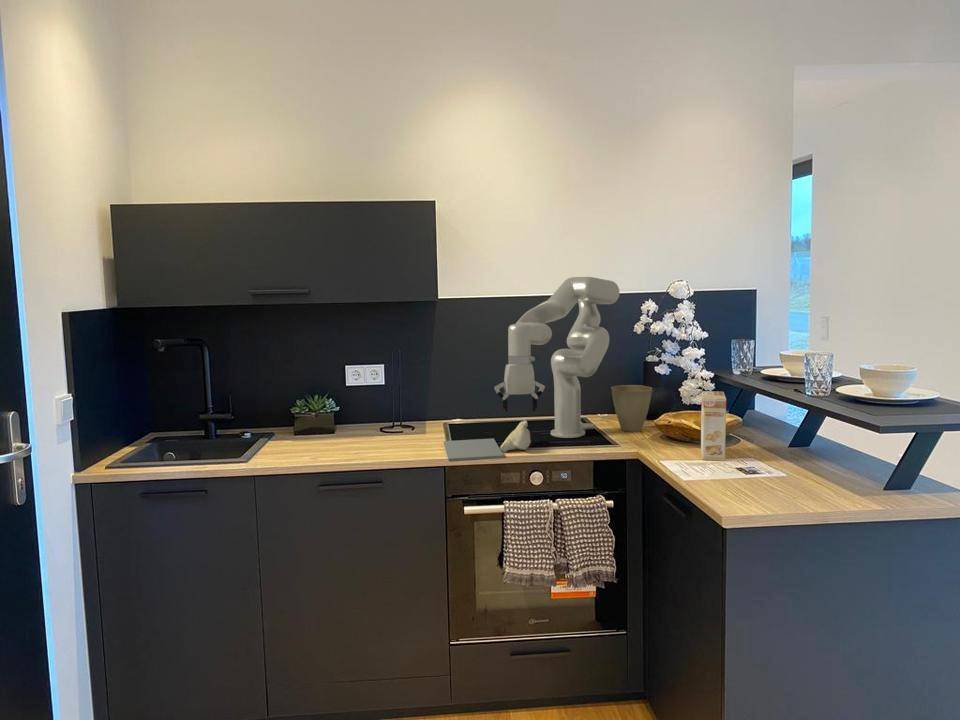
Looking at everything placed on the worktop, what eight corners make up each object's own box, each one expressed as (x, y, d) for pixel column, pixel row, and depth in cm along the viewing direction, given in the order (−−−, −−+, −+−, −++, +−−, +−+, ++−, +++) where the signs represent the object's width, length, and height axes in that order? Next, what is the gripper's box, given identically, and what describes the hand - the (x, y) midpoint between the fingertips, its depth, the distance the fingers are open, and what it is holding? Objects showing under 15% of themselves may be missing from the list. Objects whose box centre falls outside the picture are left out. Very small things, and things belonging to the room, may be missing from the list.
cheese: (519, 462, 226) (548, 429, 231) (502, 446, 226) (532, 414, 231) (507, 464, 241) (534, 433, 245) (492, 450, 241) (520, 419, 245)
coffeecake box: (726, 461, 214) (727, 399, 211) (701, 460, 216) (702, 398, 213) (723, 449, 228) (724, 390, 226) (700, 448, 230) (701, 390, 228)
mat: (493, 440, 249) (493, 438, 249) (504, 457, 225) (504, 455, 225) (443, 443, 247) (443, 441, 246) (448, 461, 223) (448, 458, 223)
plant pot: (657, 433, 253) (657, 390, 251) (617, 435, 252) (617, 391, 250) (645, 424, 268) (645, 383, 266) (607, 426, 267) (606, 385, 265)
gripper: (542, 359, 239) (542, 408, 240) (492, 360, 237) (493, 409, 238) (547, 361, 231) (546, 411, 233) (495, 362, 229) (496, 413, 231)
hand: (519, 410), depth 236 cm, fingers open, 9 cm apart
